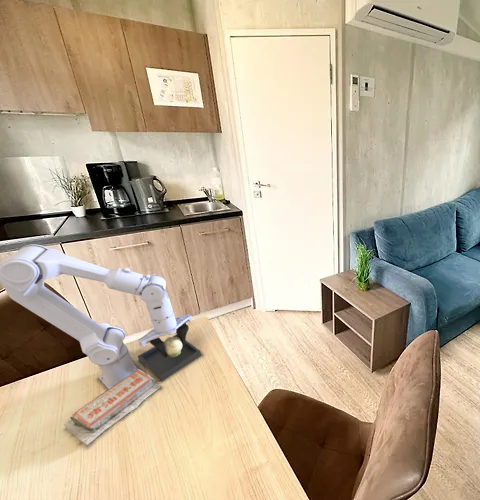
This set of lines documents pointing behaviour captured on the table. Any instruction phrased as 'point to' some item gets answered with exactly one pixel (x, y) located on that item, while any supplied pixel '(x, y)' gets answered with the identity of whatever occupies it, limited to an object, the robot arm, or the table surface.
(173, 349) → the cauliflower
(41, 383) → the table surface
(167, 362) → the tray
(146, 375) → the packaged product
